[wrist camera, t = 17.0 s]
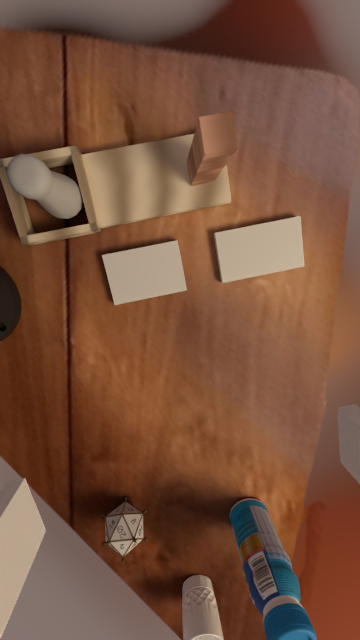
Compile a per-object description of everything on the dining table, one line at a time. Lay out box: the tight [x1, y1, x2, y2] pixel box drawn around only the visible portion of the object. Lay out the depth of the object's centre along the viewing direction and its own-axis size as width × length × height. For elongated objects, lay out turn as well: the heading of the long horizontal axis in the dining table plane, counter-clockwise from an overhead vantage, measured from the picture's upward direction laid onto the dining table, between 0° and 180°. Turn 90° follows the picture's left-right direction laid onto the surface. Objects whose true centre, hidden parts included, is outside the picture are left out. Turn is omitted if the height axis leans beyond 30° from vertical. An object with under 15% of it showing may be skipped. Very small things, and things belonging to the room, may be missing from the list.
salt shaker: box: [7, 154, 83, 219], centre depth 33 cm, size 6×6×13 cm
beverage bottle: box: [229, 498, 317, 640], centre depth 46 cm, size 8×8×20 cm
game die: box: [101, 496, 148, 563], centre depth 49 cm, size 9×8×10 cm
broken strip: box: [102, 216, 304, 305], centre depth 43 cm, size 32×8×1 cm, turn 101°
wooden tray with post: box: [0, 111, 237, 245], centre depth 33 cm, size 32×11×13 cm, turn 101°
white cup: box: [182, 575, 224, 640], centre depth 54 cm, size 8×8×10 cm
